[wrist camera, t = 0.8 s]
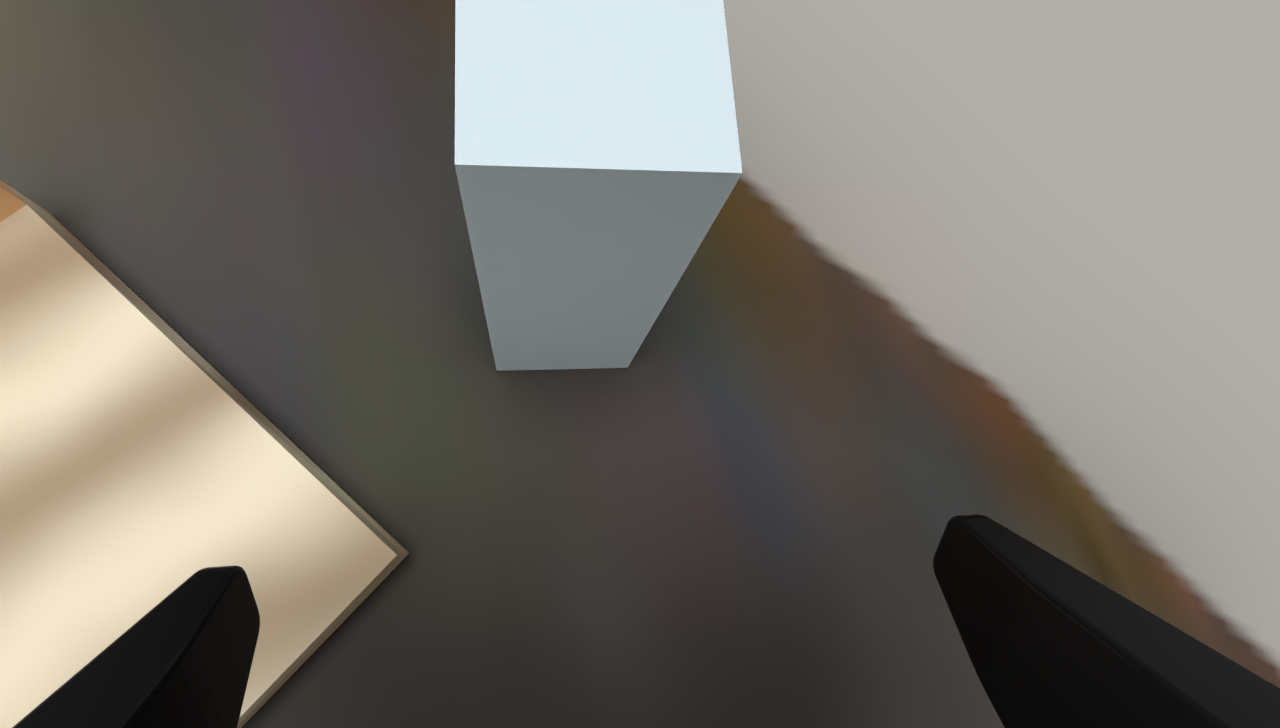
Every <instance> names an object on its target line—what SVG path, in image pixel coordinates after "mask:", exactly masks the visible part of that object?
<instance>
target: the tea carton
mask: <svg viewBox="0 0 1280 728" xmlns="http://www.w3.org/2000/svg"><path fill="white" fill-rule="evenodd" d="M455 168H456V173H457V178H458V183H459V188H460V193H461V198H462V203H463V208H464V213H465V218H466V222H467V227H468V232H469V237H470V242H471V247H472V252H473V257H474V262H475V267H476V272H477V277H478V282H479V287H480V292H481V297H482V301H483V306H484V311H485V316H486V321H487V326H488V331H489V336H490V341H491V346H492V351H493V356H494V361H495V366H496V371H506V370H550V369H595V368H628V366H629V365H630V363H631V361H632V359H633V358H634V356H635V354H636V353H637V351H638V349H639V348H640V346H641V344H642V342H643V341H644V339H645V337H646V336H647V334H648V332H649V331H650V329H651V327H652V326H653V324H654V322H655V320H656V319H657V317H658V315H659V314H660V312H661V310H662V309H663V307H664V305H665V303H666V302H667V300H668V298H669V297H670V295H671V293H672V292H673V290H674V288H675V286H676V285H677V283H678V281H679V280H680V278H681V276H682V275H683V273H684V271H685V269H686V268H687V266H688V264H689V263H690V261H691V259H692V258H693V256H694V254H695V252H696V251H697V249H698V247H699V246H700V244H701V242H702V241H703V239H704V237H705V236H706V234H707V232H708V230H709V229H710V227H711V225H712V224H713V222H714V220H715V219H716V217H717V215H718V213H719V212H720V210H721V208H722V207H723V205H724V203H725V202H726V200H727V198H728V196H729V195H730V193H731V191H732V190H733V188H734V186H735V185H736V183H737V181H738V179H739V178H740V176H741V174H742V166H741V157H740V148H739V139H738V130H737V122H736V113H735V103H734V94H733V85H732V77H731V68H730V59H729V50H728V41H727V32H726V23H725V14H724V5H723V0H456V34H455Z"/></svg>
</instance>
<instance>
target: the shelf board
mask: <svg viewBox="0 0 1280 728" xmlns="http://www.w3.org/2000/svg"><path fill="white" fill-rule="evenodd" d="M3 183H4V182H3ZM6 185H7V184H6ZM7 186H8V185H7ZM8 187H9V188H10V189H11V190H12V191H13V192H14V193H15V194H16V195H17V196H18V197H19V198H20V199H21V200H22V201H24V202H25V203H26V204H27V205H25V206H24V207H22V208H21V209H19V210H18V211H16V212H15V213H13V214H12V215H10V216H9V217H7V218H6V219H4V220H3V221H2V222H0V728H12V727H13V726H15V725H16V724H17V723H18V722H19V721H20V720H22V719H23V718H24V717H25V716H26V715H28V714H29V713H30V712H31V711H32V710H33V709H35V708H36V707H37V706H38V705H39V704H41V703H42V702H43V701H44V700H45V699H46V698H48V697H49V696H50V695H51V694H52V693H54V692H55V691H56V690H57V689H58V688H59V687H61V686H62V685H63V684H64V683H65V682H67V681H68V680H69V679H70V678H71V677H72V676H74V675H75V674H76V673H77V672H78V671H80V670H81V669H82V668H83V667H84V666H85V665H87V664H88V663H89V662H90V661H91V660H92V659H94V658H95V657H96V656H97V655H98V654H100V653H101V652H102V651H103V650H104V649H105V648H107V647H108V646H109V645H110V644H111V643H113V642H114V641H115V640H116V639H117V638H118V637H120V636H121V635H122V634H123V633H124V632H126V631H127V630H128V629H129V628H130V627H131V626H133V625H134V624H135V623H136V622H137V621H139V620H140V619H141V618H142V617H143V616H144V615H146V614H147V613H148V612H149V611H150V610H152V609H153V608H154V607H155V606H156V605H157V604H159V603H160V602H161V601H162V600H163V599H165V598H166V597H167V596H168V595H169V594H170V593H172V592H173V591H174V590H175V589H176V588H178V587H179V586H180V585H181V584H182V583H183V582H185V581H186V580H187V579H188V578H189V577H191V576H192V575H193V574H194V573H196V572H197V571H199V570H201V569H203V568H207V567H220V566H234V565H236V566H240V567H242V568H243V569H244V570H245V572H246V574H247V577H248V580H249V583H250V586H251V589H252V592H253V595H254V598H255V601H256V604H257V607H258V610H259V614H260V629H259V635H258V640H257V644H256V648H255V653H254V657H253V661H252V666H251V670H250V674H249V679H248V683H247V687H246V692H245V696H244V700H243V705H242V709H241V713H240V718H239V722H238V726H237V728H242V727H243V726H244V725H245V724H246V723H247V721H248V720H249V719H250V718H251V717H252V716H253V715H254V714H255V713H256V712H257V711H258V710H259V709H260V708H261V707H262V706H263V705H264V704H265V703H266V702H267V701H268V700H269V699H270V698H271V697H272V695H273V694H274V693H275V692H276V691H277V690H278V689H279V688H280V687H281V686H282V685H283V684H284V683H285V682H286V681H287V680H288V679H289V678H290V677H291V676H292V675H293V674H294V673H295V672H296V671H297V670H298V668H299V667H300V666H301V665H302V664H303V663H304V662H305V661H306V660H307V659H308V658H309V657H310V656H311V655H312V654H313V653H314V652H315V651H316V650H317V649H318V648H319V647H320V646H321V645H322V644H323V643H324V641H325V640H326V639H327V638H328V637H329V636H330V635H331V634H332V633H333V632H334V631H335V630H336V629H337V628H338V627H339V626H340V625H341V624H342V623H343V622H344V621H345V620H346V619H347V618H348V617H349V615H350V614H351V613H352V612H353V611H354V610H355V609H356V608H357V607H358V606H359V605H360V604H361V603H362V602H363V601H364V600H365V599H366V598H367V597H368V596H369V595H370V594H371V593H372V592H373V591H374V590H375V588H376V587H377V586H378V585H379V584H380V583H381V582H382V581H383V580H384V579H385V578H386V577H387V576H388V575H389V574H390V573H391V572H392V571H393V570H394V569H395V568H396V567H397V566H398V565H399V564H400V563H401V561H402V560H403V559H404V558H405V557H406V556H407V555H408V554H409V552H408V551H407V550H406V549H405V548H403V547H402V546H401V545H400V544H399V543H398V542H397V541H396V540H395V539H394V538H393V537H392V536H391V535H390V534H389V533H388V532H387V531H386V530H384V529H383V528H382V527H381V526H380V525H379V524H378V523H377V522H376V521H375V520H374V519H373V518H372V517H371V516H370V515H369V514H368V513H366V512H365V511H364V510H363V509H362V508H361V507H360V506H359V505H358V504H357V503H356V502H355V501H354V500H353V499H352V498H351V497H350V496H348V495H347V494H346V493H345V492H344V491H343V490H342V489H341V488H340V487H339V486H338V485H337V484H336V483H335V482H334V481H333V480H332V479H330V478H329V477H328V476H327V475H326V474H325V473H324V472H323V471H322V470H321V469H320V468H319V467H318V466H317V465H316V464H315V463H314V462H312V461H311V460H310V459H309V458H308V457H307V456H306V455H305V454H304V453H303V452H302V451H301V450H300V449H299V448H298V447H297V446H296V445H295V444H293V443H292V442H291V441H290V440H289V439H288V438H287V437H286V436H285V435H284V434H283V433H282V432H281V431H280V430H279V429H278V428H277V427H275V426H274V425H273V424H272V423H271V422H270V421H269V420H268V419H267V418H266V417H265V416H264V415H263V414H262V413H261V412H260V411H259V410H257V409H256V408H255V407H254V406H253V405H252V404H251V403H250V402H249V401H248V400H247V399H246V398H245V397H244V396H243V395H242V394H241V393H239V392H238V391H237V390H236V389H235V388H234V387H233V386H232V385H231V384H230V383H229V382H228V381H227V380H226V379H225V378H224V377H223V376H222V375H220V374H219V373H218V372H217V371H216V370H215V369H214V368H213V367H212V366H211V365H210V364H209V363H208V362H207V361H206V360H205V359H204V358H202V357H201V356H200V355H199V354H198V353H197V352H196V351H195V350H194V349H193V348H192V347H191V346H190V345H189V344H188V343H187V342H186V341H184V340H183V339H182V338H181V337H180V336H179V335H178V334H177V333H176V332H175V331H174V330H173V329H172V328H171V327H170V326H169V325H168V324H166V323H165V322H164V321H163V320H162V319H161V318H160V317H159V316H158V315H157V314H156V313H155V312H154V311H153V310H152V309H151V308H150V307H148V306H147V305H146V304H145V303H144V302H143V301H142V300H141V299H140V298H139V297H138V296H137V295H136V294H135V293H134V292H133V291H132V290H131V289H129V288H128V287H127V286H126V285H125V284H124V283H123V282H122V281H121V280H120V279H119V278H118V277H117V276H116V275H115V274H114V273H113V272H111V271H110V270H109V269H108V268H107V267H106V266H105V265H104V264H103V263H102V262H101V261H100V260H99V259H98V258H97V257H96V256H95V255H93V254H92V253H91V252H90V251H89V250H88V249H87V248H86V247H85V246H84V245H83V244H82V243H81V242H80V241H79V240H78V239H77V238H75V237H74V236H73V235H72V234H71V233H70V232H69V231H68V230H67V229H66V228H65V227H64V226H63V225H62V224H61V223H60V222H59V221H58V220H56V219H55V218H54V217H53V216H52V215H51V214H50V213H48V212H47V211H45V210H44V209H42V208H41V207H40V206H38V205H37V204H35V203H34V202H32V201H31V200H29V199H28V198H26V197H25V196H23V195H22V194H20V193H19V192H17V191H16V190H14V189H13V188H11V187H10V186H8Z"/></svg>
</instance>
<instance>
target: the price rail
mask: <svg viewBox="0 0 1280 728" xmlns="http://www.w3.org/2000/svg"><path fill="white" fill-rule="evenodd" d="M25 205H27V204H26V203H25V202H24V201H22V200H21V199H20V198H19V197H18V196H17V195H16V194H15V193H14V192H13V191H12V190H11V189H10V188H9V187H8V186H7V185H6V184H5V183H3V182H2V181H1V180H0V222H2V221H3V220H4V219H6V218H7V217H9V216H10V215H12V214H13V213H15V212H16V211H18V210H19V209H21V208H22V207H24V206H25Z"/></svg>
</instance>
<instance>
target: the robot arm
mask: <svg viewBox="0 0 1280 728" xmlns="http://www.w3.org/2000/svg"><path fill="white" fill-rule="evenodd" d="M933 566H934V572H935V575H936V578H937V581H938V583H939V585H940V588H941V590H942V593H943V595H944V597H945V600H946V602H947V604H948V607H949V609H950V612H951V614H952V616H953V619H954V621H955V624H956V626H957V628H958V631H959V633H960V635H961V638H962V640H963V643H964V645H965V647H966V650H967V652H968V655H969V657H970V659H971V662H972V664H973V666H974V668H975V671H976V673H977V675H978V677H979V679H980V681H981V683H982V685H983V687H984V689H985V691H986V693H987V695H988V697H989V699H990V701H991V703H992V705H993V707H994V709H995V710H996V712H997V714H998V716H999V718H1000V720H1001V722H1002V724H1003V725H1004V727H1005V728H1280V688H1279V687H1277V686H1275V685H1274V684H1272V683H1270V682H1268V681H1267V680H1265V679H1263V678H1262V677H1260V676H1258V675H1256V674H1255V673H1253V672H1251V671H1250V670H1248V669H1246V668H1245V667H1243V666H1241V665H1239V664H1238V663H1236V662H1234V661H1233V660H1231V659H1229V658H1227V657H1226V656H1224V655H1222V654H1221V653H1219V652H1217V651H1216V650H1214V649H1212V648H1210V647H1209V646H1207V645H1205V644H1204V643H1202V642H1200V641H1198V640H1197V639H1195V638H1193V637H1192V636H1190V635H1188V634H1187V633H1185V632H1183V631H1181V630H1180V629H1178V628H1176V627H1175V626H1173V625H1171V624H1169V623H1168V622H1166V621H1164V620H1163V619H1161V618H1159V617H1158V616H1156V615H1154V614H1152V613H1151V612H1149V611H1147V610H1146V609H1144V608H1142V607H1140V606H1139V605H1137V604H1135V603H1134V602H1132V601H1130V600H1129V599H1127V598H1125V597H1123V596H1122V595H1120V594H1118V593H1117V592H1115V591H1113V590H1111V589H1110V588H1108V587H1106V586H1105V585H1103V584H1101V583H1100V582H1098V581H1096V580H1094V579H1093V578H1091V577H1089V576H1088V575H1086V574H1084V573H1082V572H1081V571H1079V570H1077V569H1076V568H1074V567H1072V566H1071V565H1069V564H1067V563H1065V562H1064V561H1062V560H1060V559H1059V558H1057V557H1055V556H1053V555H1052V554H1050V553H1048V552H1047V551H1045V550H1043V549H1042V548H1040V547H1038V546H1036V545H1035V544H1033V543H1031V542H1030V541H1028V540H1026V539H1024V538H1023V537H1021V536H1019V535H1018V534H1016V533H1014V532H1013V531H1011V530H1009V529H1007V528H1006V527H1004V526H1002V525H1001V524H999V523H997V522H995V521H994V520H992V519H990V518H989V517H987V516H984V515H981V514H970V515H957V516H954V517H952V518H951V519H950V520H949V522H948V523H947V526H946V528H945V531H944V533H943V535H942V538H941V540H940V543H939V545H938V548H937V550H936V552H935V555H934V560H933ZM259 629H260V614H259V610H258V607H257V604H256V601H255V598H254V595H253V592H252V589H251V586H250V583H249V580H248V577H247V574H246V572H245V570H244V569H243V568H242V567H240V566H236V565H234V566H220V567H207V568H203V569H201V570H199V571H197V572H196V573H194V574H193V575H192V576H191V577H189V578H188V579H187V580H186V581H185V582H183V583H182V584H181V585H180V586H179V587H178V588H176V589H175V590H174V591H173V592H172V593H170V594H169V595H168V596H167V597H166V598H165V599H163V600H162V601H161V602H160V603H159V604H157V605H156V606H155V607H154V608H153V609H152V610H150V611H149V612H148V613H147V614H146V615H144V616H143V617H142V618H141V619H140V620H139V621H137V622H136V623H135V624H134V625H133V626H131V627H130V628H129V629H128V630H127V631H126V632H124V633H123V634H122V635H121V636H120V637H118V638H117V639H116V640H115V641H114V642H113V643H111V644H110V645H109V646H108V647H107V648H105V649H104V650H103V651H102V652H101V653H100V654H98V655H97V656H96V657H95V658H94V659H92V660H91V661H90V662H89V663H88V664H87V665H85V666H84V667H83V668H82V669H81V670H80V671H78V672H77V673H76V674H75V675H74V676H72V677H71V678H70V679H69V680H68V681H67V682H65V683H64V684H63V685H62V686H61V687H59V688H58V689H57V690H56V691H55V692H54V693H52V694H51V695H50V696H49V697H48V698H46V699H45V700H44V701H43V702H42V703H41V704H39V705H38V706H37V707H36V708H35V709H33V710H32V711H31V712H30V713H29V714H28V715H26V716H25V717H24V718H23V719H22V720H20V721H19V722H18V723H17V724H16V725H15V726H13V727H12V728H237V726H238V722H239V718H240V713H241V709H242V705H243V700H244V696H245V692H246V687H247V683H248V679H249V674H250V670H251V666H252V661H253V657H254V653H255V648H256V644H257V640H258V635H259Z"/></svg>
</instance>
